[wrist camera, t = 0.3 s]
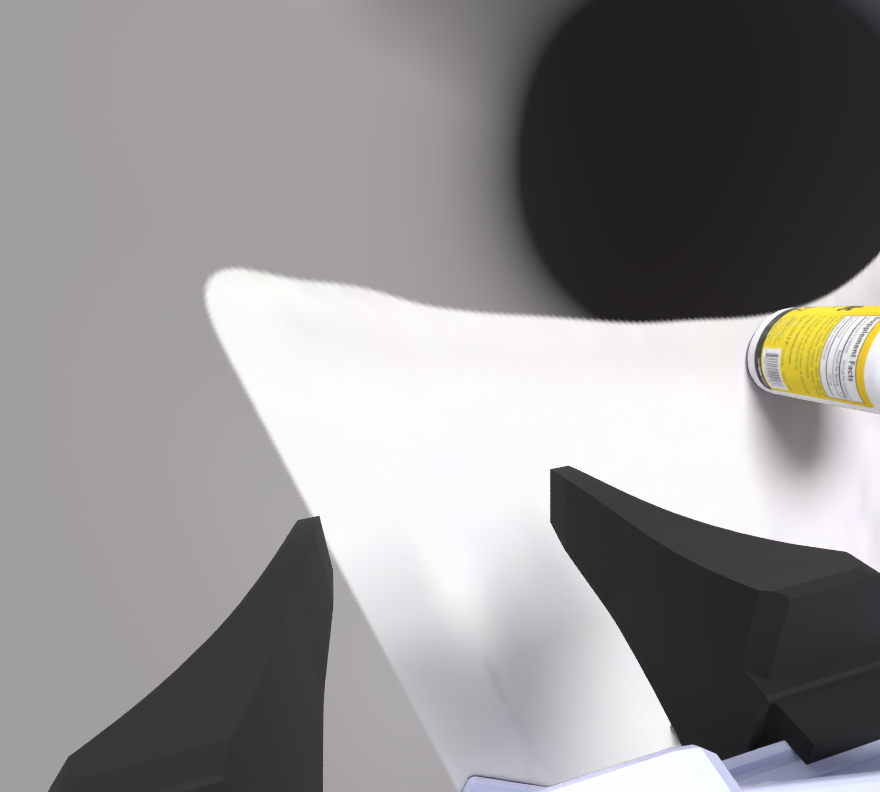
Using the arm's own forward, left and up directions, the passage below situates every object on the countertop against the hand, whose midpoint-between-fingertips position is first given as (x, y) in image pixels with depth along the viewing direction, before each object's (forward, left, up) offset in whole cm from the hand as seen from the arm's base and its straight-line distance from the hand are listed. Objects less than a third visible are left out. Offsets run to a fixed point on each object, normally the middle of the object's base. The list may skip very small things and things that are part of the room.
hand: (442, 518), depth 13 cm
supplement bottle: (+13, -20, -11) cm, 26 cm away
